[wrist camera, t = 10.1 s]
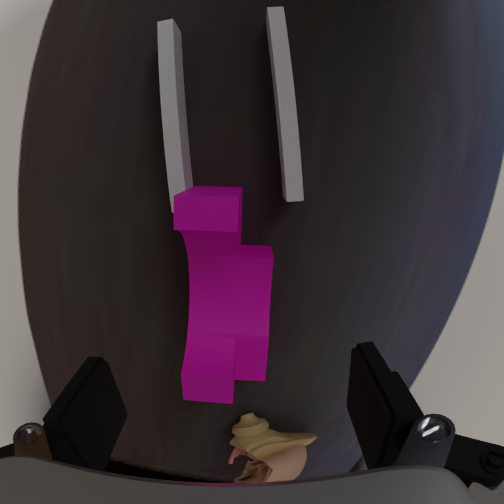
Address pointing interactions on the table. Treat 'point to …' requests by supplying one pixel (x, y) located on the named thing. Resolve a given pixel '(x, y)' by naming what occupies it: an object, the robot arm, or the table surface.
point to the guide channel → (176, 107)
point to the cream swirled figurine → (268, 451)
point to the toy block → (222, 295)
